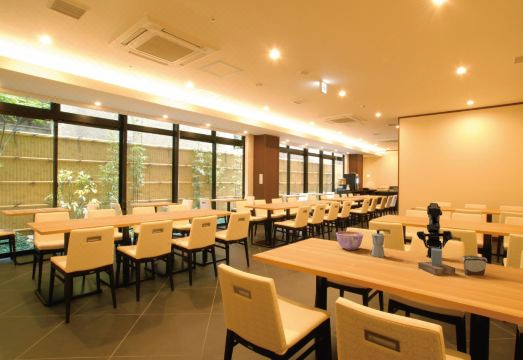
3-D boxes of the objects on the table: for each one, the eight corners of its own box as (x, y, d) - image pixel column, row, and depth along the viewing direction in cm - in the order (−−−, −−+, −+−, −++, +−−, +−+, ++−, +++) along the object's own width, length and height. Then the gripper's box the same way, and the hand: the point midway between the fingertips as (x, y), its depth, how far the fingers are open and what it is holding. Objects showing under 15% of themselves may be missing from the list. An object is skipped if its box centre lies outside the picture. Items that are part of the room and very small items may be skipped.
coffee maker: (380, 258, 192) (381, 232, 192) (367, 256, 198) (368, 230, 198) (388, 254, 203) (389, 229, 203) (376, 252, 209) (376, 227, 209)
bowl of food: (359, 253, 206) (359, 237, 206) (332, 249, 217) (332, 234, 217) (366, 247, 223) (366, 232, 223) (340, 244, 234) (340, 230, 234)
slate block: (431, 263, 171) (431, 248, 171) (441, 264, 169) (441, 249, 169) (431, 265, 167) (431, 249, 167) (441, 266, 164) (441, 251, 164)
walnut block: (436, 267, 175) (437, 261, 175) (455, 274, 163) (455, 267, 163) (418, 269, 173) (418, 262, 173) (435, 276, 160) (435, 269, 160)
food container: (479, 272, 165) (480, 255, 165) (487, 276, 159) (487, 258, 159) (457, 271, 166) (457, 254, 166) (463, 275, 160) (463, 257, 160)
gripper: (414, 219, 186) (413, 241, 178) (448, 217, 174) (449, 241, 165) (419, 228, 192) (418, 249, 184) (452, 227, 180) (453, 250, 171)
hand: (434, 247), depth 176 cm, fingers open, 9 cm apart
